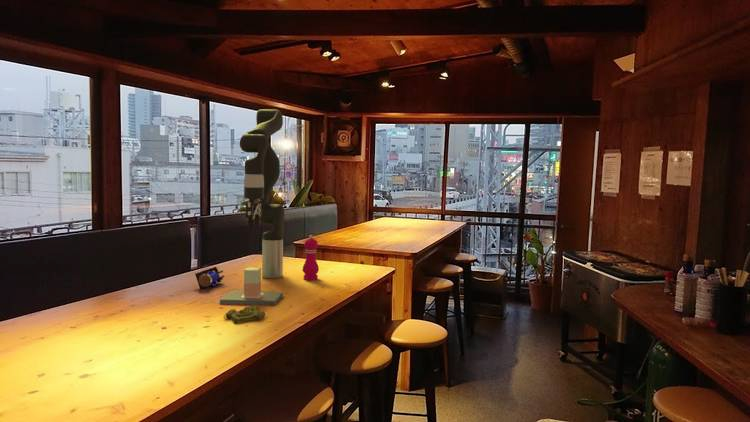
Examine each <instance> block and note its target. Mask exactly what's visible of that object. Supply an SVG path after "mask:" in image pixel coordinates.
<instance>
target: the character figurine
mask: <svg viewBox="0 0 750 422" xmlns="http://www.w3.org/2000/svg"><path fill="white" fill-rule="evenodd" d="M221 273H224V271H223V270H219V269H218V268H217V266H214V267H211V268H207V269H205V270H200V272H196V273H194V274H195V275H194V276H195V278H196V281H197V284H198V287H199V289H200V290H202V289H205V288H208V287H210V286H212V287H213V288H215V287H216V286H217V284H219V283H221V282H222V280H223V279H224V278H225V275H221V276H220V274H221Z"/></svg>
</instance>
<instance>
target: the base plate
mask: <svg viewBox="0 0 750 422" xmlns="http://www.w3.org/2000/svg"><path fill="white" fill-rule="evenodd" d="M283 296H284V291H274V290H272V291H271V290H270V291H269V290H261V294H260V295H259V296H258V297H244V290H235V289H234V290H233V289H232V290H231V291H229V292H228V293H226V294H225V295H224V296H222V297H221V298H220V299H219V304H220V305H244V306H246V305H249V306H250V305H251V306H254V305H258V306H276V305H277V304H278V302H279V301H280V300H281V299H282V297H283Z"/></svg>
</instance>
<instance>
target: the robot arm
mask: <svg viewBox="0 0 750 422" xmlns="http://www.w3.org/2000/svg"><path fill="white" fill-rule="evenodd" d="M283 117H284V116H283V114H282V112H281V110H279V109H273V108H272V109H267V108H265V109H261V108H260V109H258V110H257V112H256V125H255V127H253V129H252V130H249V131H247V132H244V133H243V134H242V135H241V137H240V140H239V147H240V149H241V151H242V152H244V153H247V154H248V153H255V154H256V153H257V155H256V156H255V157H252V158H248V159H246V160H245V161H244V179H243V197H244V199H248V201H246V202H245V219H247V229H248V230H254V229H255V228H258V227H260V225H261V224H263V225H273V227H272V229H270V230H269V231H265V232H263V233H262V238H261V239H262V242H261V245H262V248H261V249H262V251H261V252H262V253H261V254H262V255H261V257H262V259H261V262H262V263H261V265H262V266H261V278H264V279H278V278H282V277H283V276H284V275H283V274H284V271H283V270H284V260H283V259H284V232H285V208H284V206H283V205H282V204H280V203H270V196H271V195H270V194H271V192H272V190H273V188H274V187H275V185H276V184H277V182H278V181H279V178H280V176H281V175H280V174H281V166H280V159H279V156H278V155H277V153H276V152H275V150H274V149H273V147H272V146H271V143H270V142H269V139H270V137H271V136H273V135H274V134H276V133H277V132H278V131H280V130H281V129H282V128H283V124H284V121H283V120H284V118H283ZM260 223H261V224H260Z"/></svg>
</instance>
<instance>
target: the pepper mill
mask: <svg viewBox="0 0 750 422" xmlns="http://www.w3.org/2000/svg"><path fill="white" fill-rule="evenodd" d="M308 237H309V238H307V239H306V240H305V241H304V242H303V243H304V244H303V246H304V248H305V254H306V255H305V256H306V257H305V261H304V263H303V266H302V272H303V273H304V274H303V280H304V281H317V280H318V273H319V271H320V270H319V267H320V266H319V265H318V262H317V259H316V253H317V248H318V245H319V243H318V241H317V239H315V238H314V236H313V235H312V234H311V235H309V236H308Z"/></svg>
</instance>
